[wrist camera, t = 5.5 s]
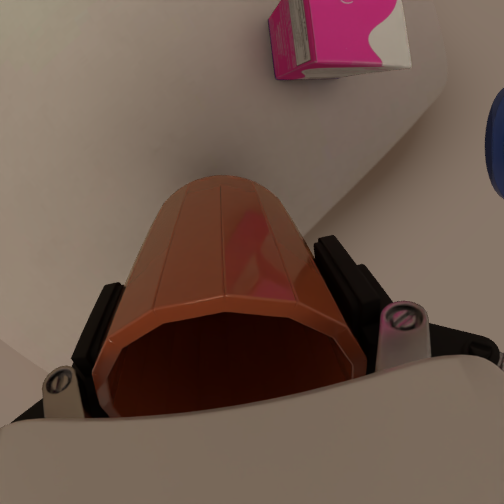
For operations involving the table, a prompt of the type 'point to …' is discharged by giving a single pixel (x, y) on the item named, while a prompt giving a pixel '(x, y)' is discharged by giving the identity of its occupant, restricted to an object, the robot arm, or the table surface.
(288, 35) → the supplement box
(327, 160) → the table surface
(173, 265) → the cup
